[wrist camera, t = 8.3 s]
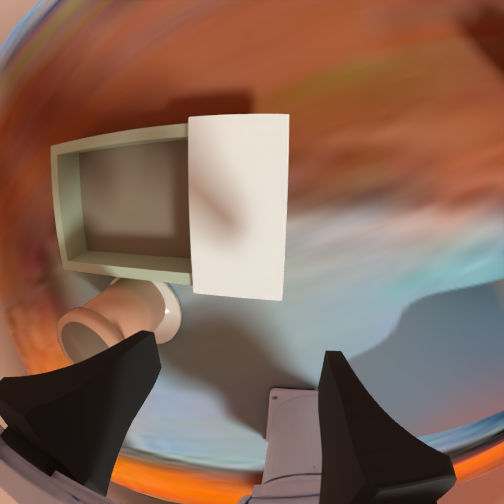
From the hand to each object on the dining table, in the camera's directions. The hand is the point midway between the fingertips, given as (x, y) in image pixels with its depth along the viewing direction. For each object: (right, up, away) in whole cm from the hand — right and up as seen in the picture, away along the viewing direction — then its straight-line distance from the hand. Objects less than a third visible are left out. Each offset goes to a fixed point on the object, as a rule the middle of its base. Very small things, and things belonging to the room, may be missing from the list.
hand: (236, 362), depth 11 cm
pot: (-9, 0, +11) cm, 14 cm away
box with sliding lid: (-6, +8, +9) cm, 14 cm away
